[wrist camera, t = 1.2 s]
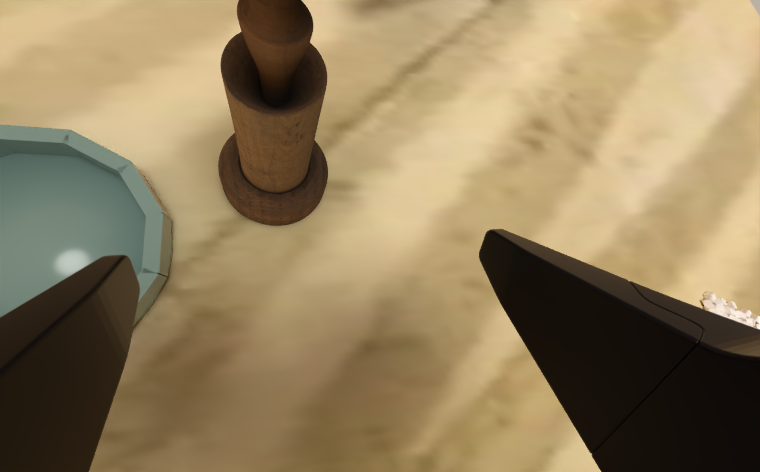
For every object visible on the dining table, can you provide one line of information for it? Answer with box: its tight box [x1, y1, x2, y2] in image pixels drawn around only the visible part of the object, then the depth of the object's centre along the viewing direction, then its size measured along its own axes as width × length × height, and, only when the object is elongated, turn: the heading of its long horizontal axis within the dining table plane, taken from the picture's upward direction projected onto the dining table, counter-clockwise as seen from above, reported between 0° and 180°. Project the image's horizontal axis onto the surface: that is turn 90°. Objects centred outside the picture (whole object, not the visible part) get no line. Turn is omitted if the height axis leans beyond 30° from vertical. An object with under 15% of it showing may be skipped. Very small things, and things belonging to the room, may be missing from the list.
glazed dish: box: [0, 125, 173, 325], centre depth 17 cm, size 13×13×2 cm
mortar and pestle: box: [218, 0, 328, 225], centre depth 15 cm, size 7×6×18 cm
